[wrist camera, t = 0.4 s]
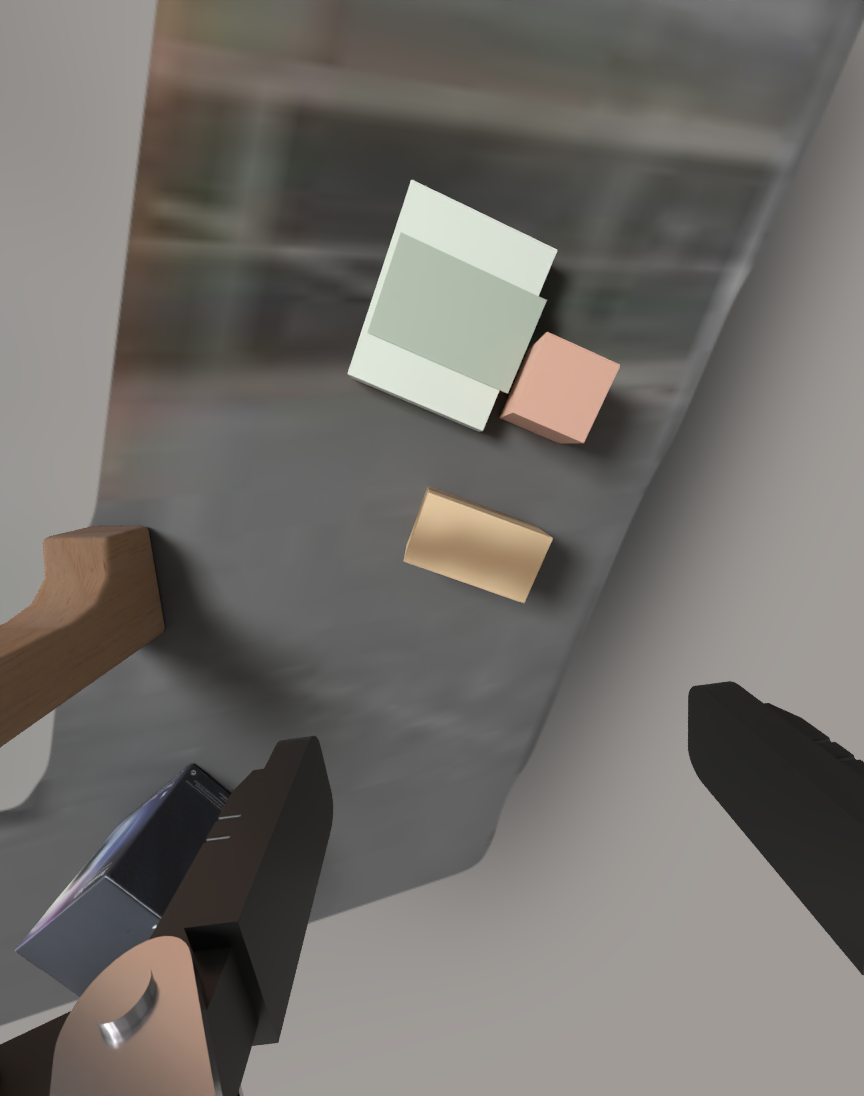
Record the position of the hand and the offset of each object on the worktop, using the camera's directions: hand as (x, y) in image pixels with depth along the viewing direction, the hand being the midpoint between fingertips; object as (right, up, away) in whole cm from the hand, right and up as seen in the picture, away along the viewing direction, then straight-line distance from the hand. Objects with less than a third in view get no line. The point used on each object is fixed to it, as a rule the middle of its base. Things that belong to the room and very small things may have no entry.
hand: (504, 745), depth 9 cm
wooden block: (-26, +2, +24) cm, 36 cm away
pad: (0, +20, +20) cm, 28 cm away
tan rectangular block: (+2, +5, +24) cm, 25 cm away
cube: (+7, +15, +22) cm, 27 cm away
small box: (-25, -20, +30) cm, 44 cm away
